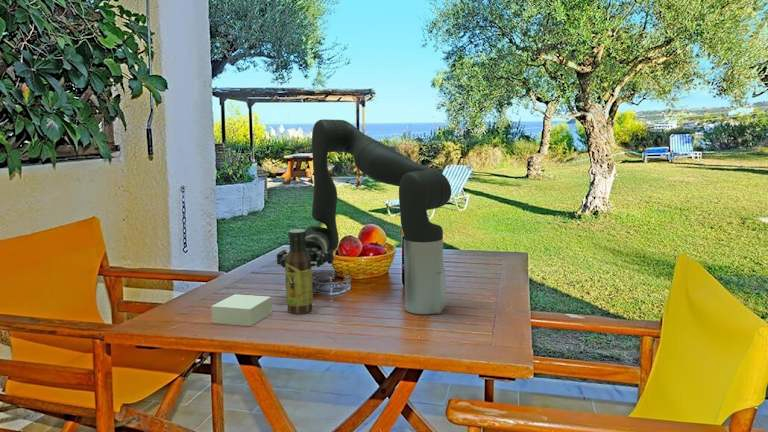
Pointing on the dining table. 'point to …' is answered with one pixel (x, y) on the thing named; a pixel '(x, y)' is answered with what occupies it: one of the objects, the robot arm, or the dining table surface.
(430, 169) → the robot arm
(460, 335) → the dining table surface
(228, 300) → the plinth
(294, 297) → the sauce bottle
